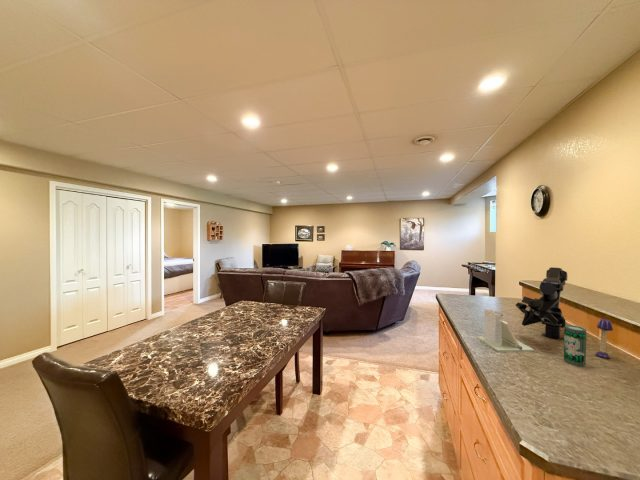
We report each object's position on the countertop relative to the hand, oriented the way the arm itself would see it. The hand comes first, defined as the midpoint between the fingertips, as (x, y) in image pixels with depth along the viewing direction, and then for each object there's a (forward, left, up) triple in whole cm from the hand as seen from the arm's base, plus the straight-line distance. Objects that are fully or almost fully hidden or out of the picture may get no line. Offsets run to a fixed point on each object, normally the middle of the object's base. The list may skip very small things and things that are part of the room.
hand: (522, 325), depth 122 cm
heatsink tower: (+13, -5, -9) cm, 17 cm away
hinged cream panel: (+7, -2, -8) cm, 10 cm away
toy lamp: (-19, +21, -10) cm, 30 cm away
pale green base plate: (+9, -3, -10) cm, 13 cm away
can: (-1, +19, -10) cm, 21 cm away
